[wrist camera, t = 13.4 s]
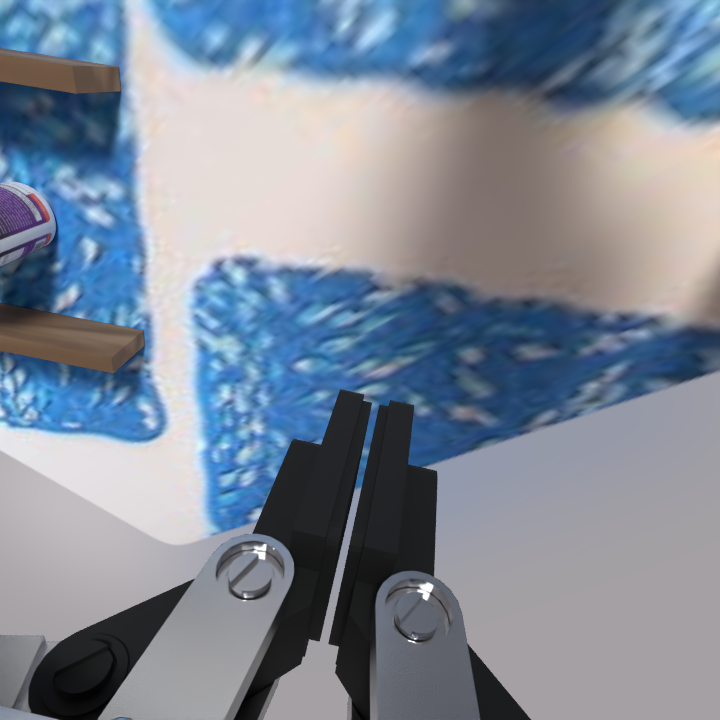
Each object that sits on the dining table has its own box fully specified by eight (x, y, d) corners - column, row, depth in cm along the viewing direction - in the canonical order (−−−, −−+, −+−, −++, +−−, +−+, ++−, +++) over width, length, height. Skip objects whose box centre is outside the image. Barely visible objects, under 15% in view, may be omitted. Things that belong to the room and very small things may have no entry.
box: (-97, 32, 36) (-171, 27, 32) (118, 67, 35) (72, 65, 31) (-21, 313, 47) (-68, 337, 43) (144, 345, 46) (113, 373, 42)
